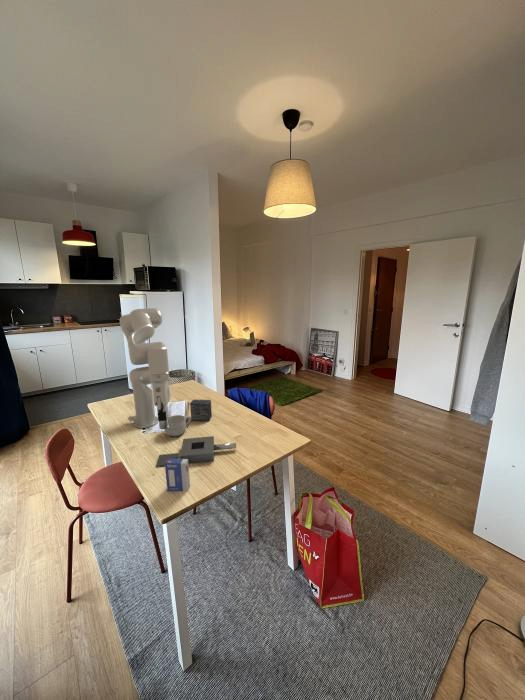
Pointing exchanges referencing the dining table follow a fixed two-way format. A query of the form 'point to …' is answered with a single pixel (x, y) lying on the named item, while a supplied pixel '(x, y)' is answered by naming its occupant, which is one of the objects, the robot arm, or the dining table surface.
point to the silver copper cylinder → (166, 423)
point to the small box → (200, 410)
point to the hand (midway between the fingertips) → (163, 417)
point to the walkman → (177, 474)
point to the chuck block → (201, 449)
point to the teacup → (177, 425)
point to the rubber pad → (163, 459)
